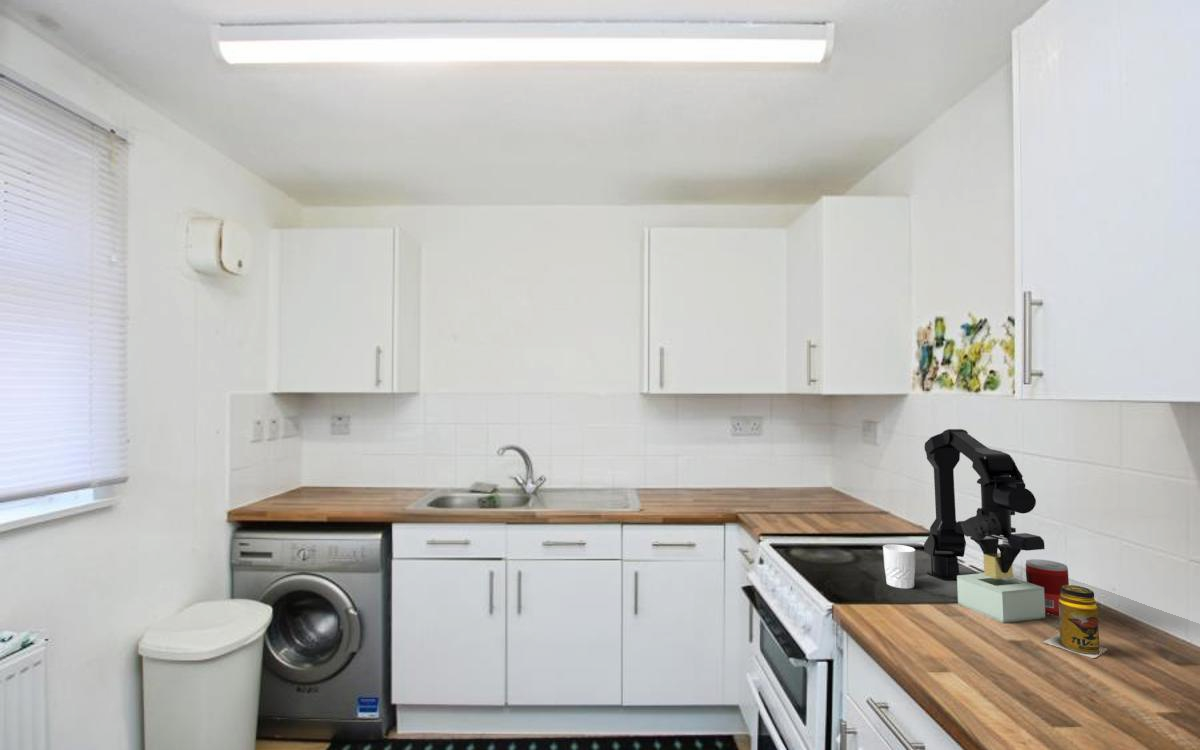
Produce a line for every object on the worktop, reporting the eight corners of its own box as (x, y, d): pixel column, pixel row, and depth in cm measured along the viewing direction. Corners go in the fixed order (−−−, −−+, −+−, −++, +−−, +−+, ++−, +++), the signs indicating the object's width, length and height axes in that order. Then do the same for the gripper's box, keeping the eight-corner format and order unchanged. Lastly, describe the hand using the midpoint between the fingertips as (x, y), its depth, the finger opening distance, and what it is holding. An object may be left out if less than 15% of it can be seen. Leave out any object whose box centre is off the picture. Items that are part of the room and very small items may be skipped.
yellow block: (984, 574, 133) (983, 554, 133) (1001, 573, 134) (1000, 552, 134) (995, 578, 130) (995, 557, 130) (1012, 577, 131) (1012, 556, 131)
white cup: (891, 578, 156) (890, 542, 157) (921, 585, 150) (920, 548, 151) (878, 584, 151) (877, 547, 152) (909, 591, 145) (908, 553, 146)
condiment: (1094, 659, 107) (1091, 596, 107) (1042, 643, 114) (1039, 584, 115) (1108, 650, 111) (1105, 589, 111) (1056, 635, 118) (1054, 578, 118)
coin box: (958, 604, 136) (956, 575, 136) (997, 600, 139) (996, 572, 139) (1003, 623, 124) (1002, 591, 125) (1045, 618, 127) (1044, 587, 127)
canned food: (1078, 616, 128) (1076, 568, 129) (1044, 615, 128) (1041, 568, 129) (1052, 604, 136) (1050, 559, 137) (1019, 604, 136) (1017, 559, 137)
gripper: (936, 500, 140) (938, 562, 139) (1005, 514, 122) (1008, 585, 121) (972, 498, 143) (974, 559, 142) (1044, 512, 124) (1048, 582, 124)
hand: (998, 570), depth 132 cm, fingers closed on yellow block, 3 cm apart
